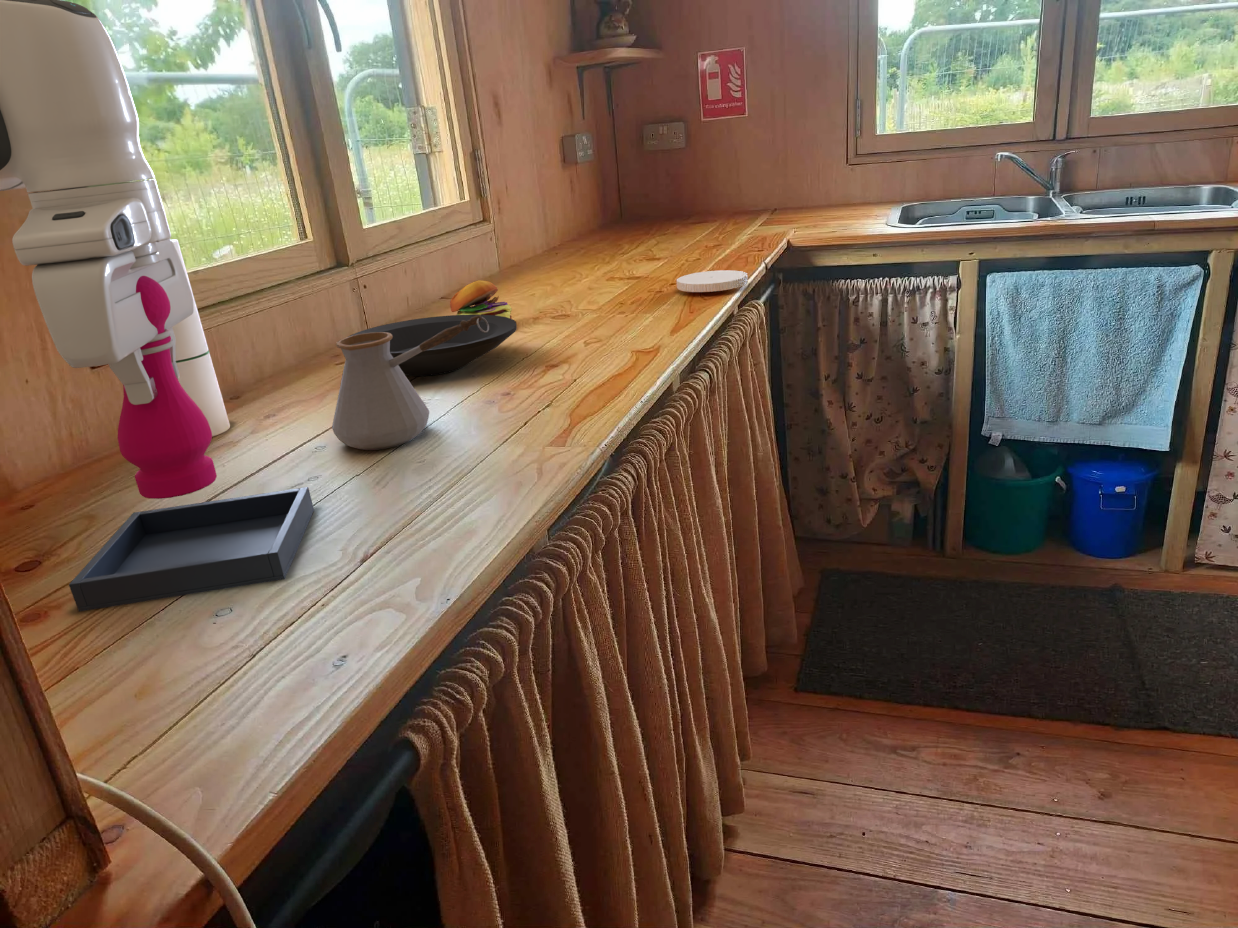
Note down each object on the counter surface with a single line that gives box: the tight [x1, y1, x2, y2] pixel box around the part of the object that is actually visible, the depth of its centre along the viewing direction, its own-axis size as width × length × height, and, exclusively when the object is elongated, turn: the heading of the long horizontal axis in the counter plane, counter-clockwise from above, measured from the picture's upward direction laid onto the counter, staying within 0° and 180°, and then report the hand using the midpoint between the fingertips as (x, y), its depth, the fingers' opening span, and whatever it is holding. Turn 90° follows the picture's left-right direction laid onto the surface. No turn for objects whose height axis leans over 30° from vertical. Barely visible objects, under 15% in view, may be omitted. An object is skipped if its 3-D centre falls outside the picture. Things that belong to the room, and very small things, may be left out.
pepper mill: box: [117, 276, 217, 500], centre depth 73 cm, size 7×7×20 cm
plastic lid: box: [675, 269, 748, 293], centre depth 173 cm, size 14×14×2 cm
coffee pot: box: [331, 315, 489, 451], centre depth 102 cm, size 21×12×15 cm, turn 76°
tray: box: [68, 486, 315, 612], centre depth 79 cm, size 17×15×3 cm
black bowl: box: [345, 314, 518, 377], centre depth 137 cm, size 28×24×6 cm
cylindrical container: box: [171, 239, 231, 438], centre depth 112 cm, size 7×7×25 cm
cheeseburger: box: [449, 279, 513, 319], centre depth 159 cm, size 10×11×10 cm
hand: (156, 392), depth 74 cm, fingers closed on pepper mill, 4 cm apart
